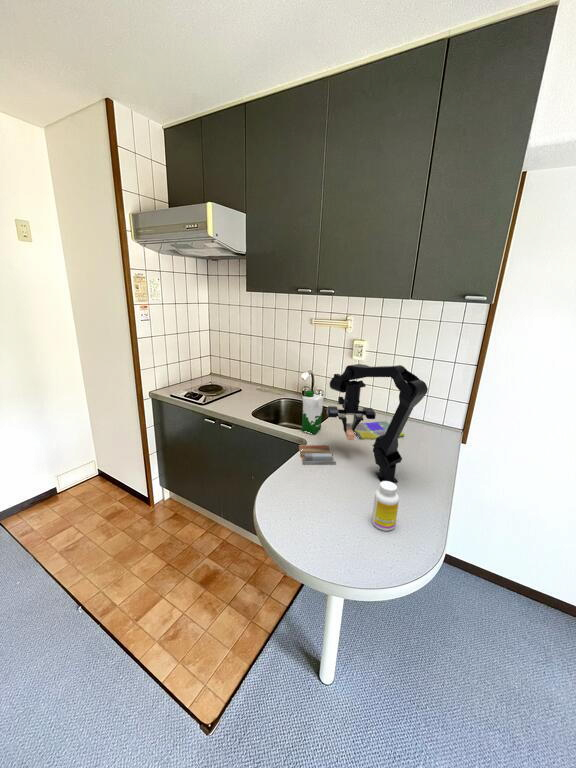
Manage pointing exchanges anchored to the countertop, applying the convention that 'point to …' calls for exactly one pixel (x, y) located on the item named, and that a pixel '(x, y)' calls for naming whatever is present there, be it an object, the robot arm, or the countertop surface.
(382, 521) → the supplement bottle
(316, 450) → the cord caddy
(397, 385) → the robot arm
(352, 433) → the two-tone eraser
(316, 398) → the milk carton
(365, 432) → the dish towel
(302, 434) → the countertop surface
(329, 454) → the grey square bar
